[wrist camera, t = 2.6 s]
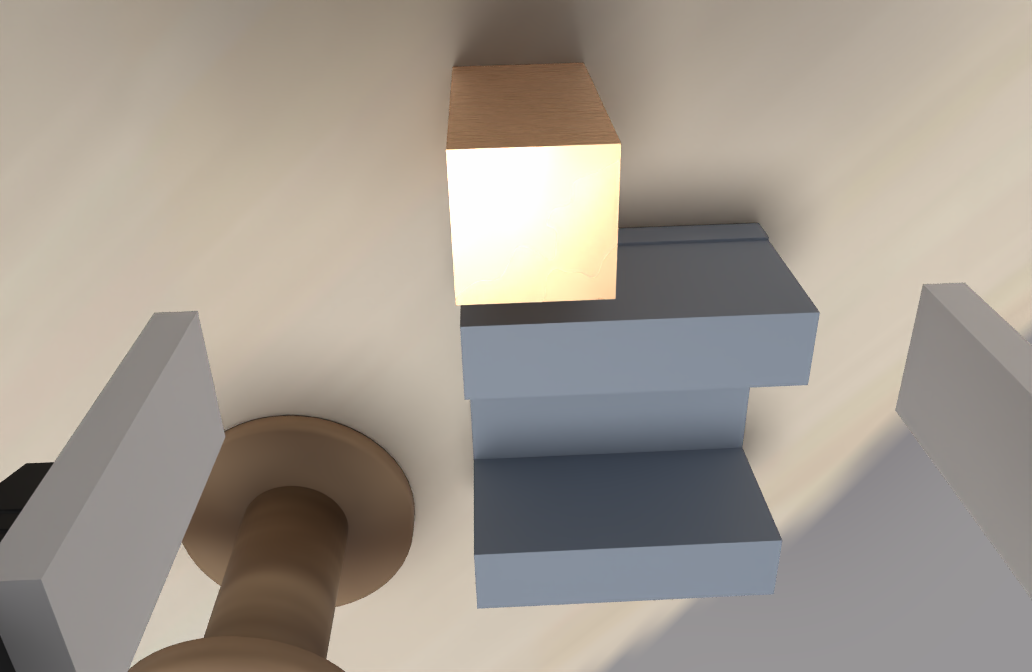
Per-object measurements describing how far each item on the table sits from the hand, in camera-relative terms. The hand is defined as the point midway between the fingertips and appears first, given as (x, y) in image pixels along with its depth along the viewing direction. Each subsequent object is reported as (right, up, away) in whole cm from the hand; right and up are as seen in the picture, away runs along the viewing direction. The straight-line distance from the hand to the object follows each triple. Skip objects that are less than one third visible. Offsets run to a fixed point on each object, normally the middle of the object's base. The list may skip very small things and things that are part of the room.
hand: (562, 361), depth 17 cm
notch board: (+2, -1, +16) cm, 17 cm away
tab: (-1, +7, +12) cm, 14 cm away
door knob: (-9, -6, +19) cm, 22 cm away
